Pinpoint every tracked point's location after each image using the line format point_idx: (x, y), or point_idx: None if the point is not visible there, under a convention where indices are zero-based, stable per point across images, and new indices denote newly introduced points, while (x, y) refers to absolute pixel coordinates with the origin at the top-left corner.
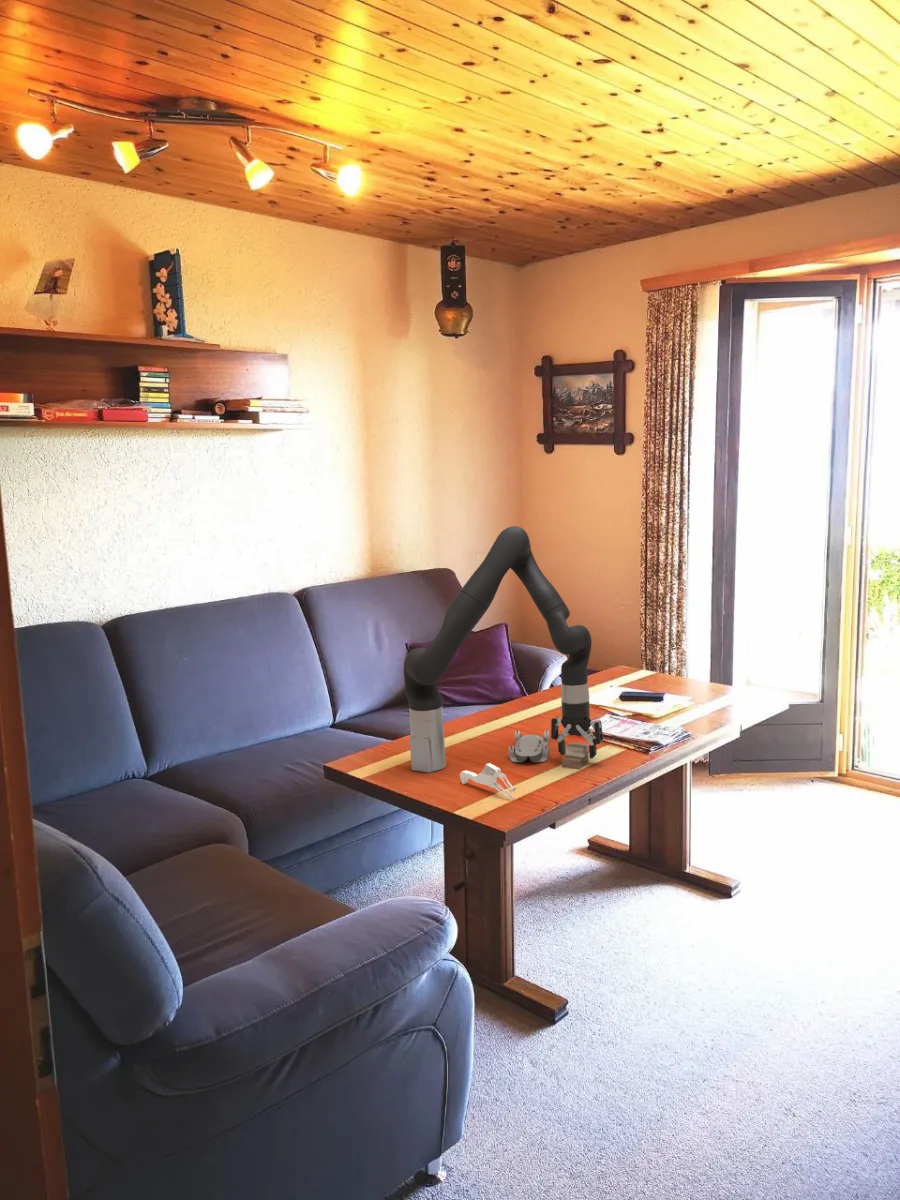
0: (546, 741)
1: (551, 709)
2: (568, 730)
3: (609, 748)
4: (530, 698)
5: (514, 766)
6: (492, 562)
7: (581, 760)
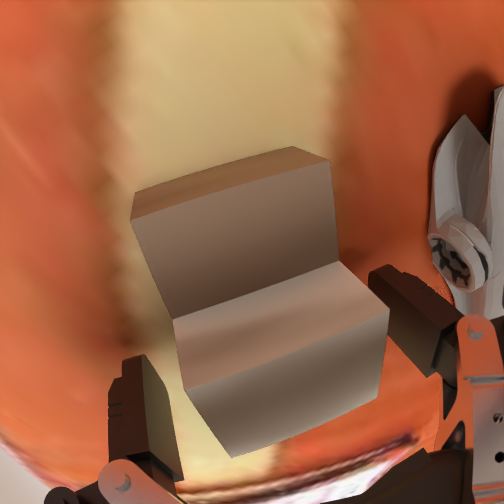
0: None
1: None
2: (476, 484)
3: (238, 469)
4: None
5: (491, 42)
6: None
7: (156, 275)
